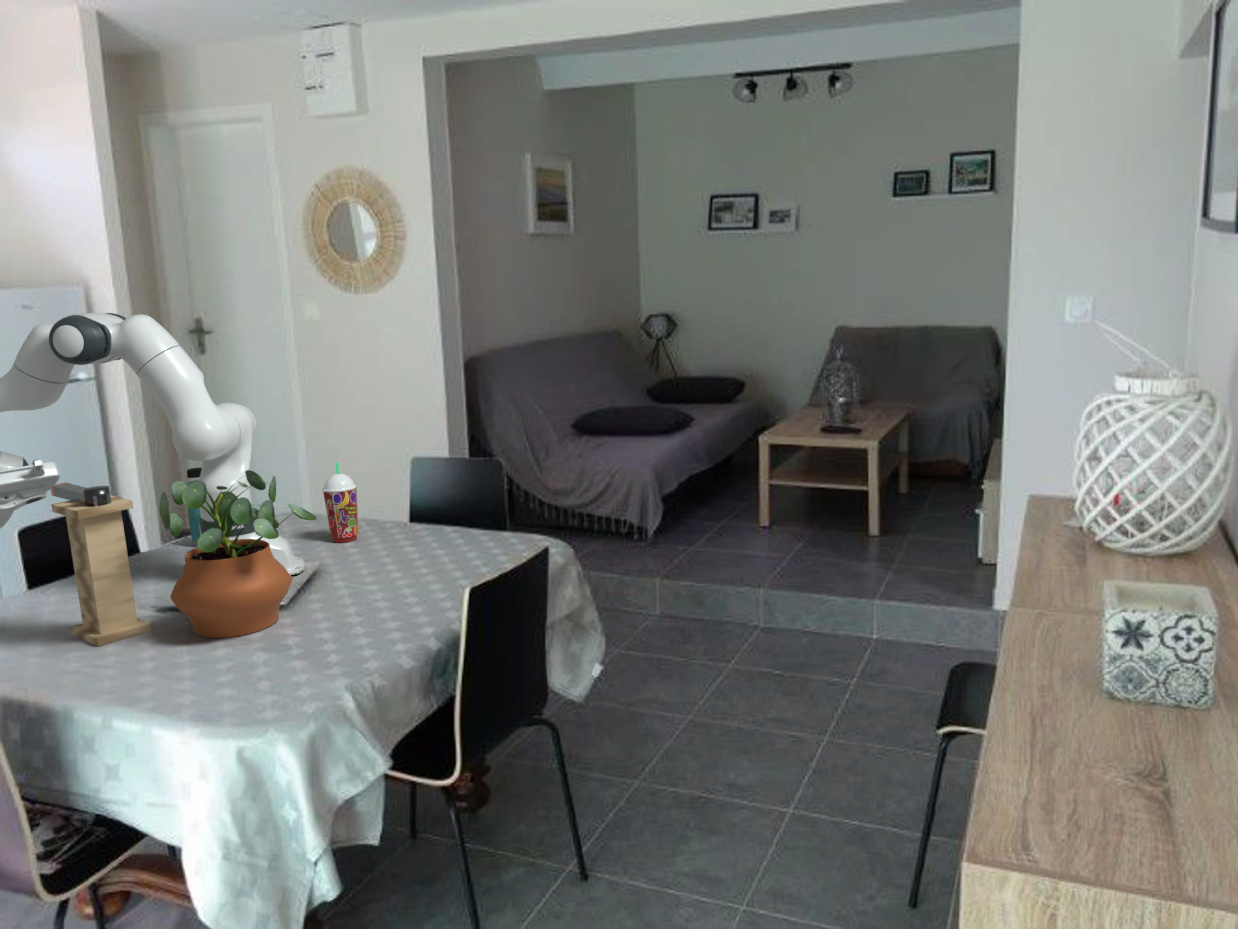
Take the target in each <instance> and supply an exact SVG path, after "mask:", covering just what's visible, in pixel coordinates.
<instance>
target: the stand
mask: <svg viewBox="0 0 1238 929" xmlns="http://www.w3.org/2000/svg"><path fill="white" fill-rule="evenodd" d="M110 496H111V504H107V505H102V506H96V507H87V506H85V504H82V503H78V502H75V501H71V500H65V501H61V502H56V503H51V510H52V511H51V512H52V513H55V514H58V515H62V516H65V521H66V525H67V532H68V539H69V545H70V546H69V547H70V550H71V552H70V553H71V557H72V563H73V564H72V565H73V570H74V571H73V572H74V576H75V582H76V590H77V594H78V602H79V607H80V614H81V621H82V623H80V624H77V625H74V626H70V629H71V634H72V635H73V636H76V637H78V638H79V639H81V640H83V641H86V642H87V643H89V644H92V645H94V646H96V647H98V648H99V647H101V646H105V645H108V644H111V643H115V642H118V641H122V640H124V639H128V638H129V639H130V638H132V637H135V636H138V635H143V634H145V633H149V632H152V626H151V623H150V622H148V621H146V620H143V619H140V618H138V616H137V615H138V614H137V610H136V602H135V601H136V600H135V597H134V588H133V582H132V575H131V568H130V563H129V562H130V561H129V556H128V555H129V554H128V549H127V548H128V547H127V541H126V534H125V529H124V528H125V527H124V521H123V515H122V511H126V510H131V509H134V504H133V500H132V499H128V498H124V497H120V496H116V495H112V494H110Z"/></svg>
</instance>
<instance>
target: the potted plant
mask: <svg viewBox="0 0 1238 929" xmlns="http://www.w3.org/2000/svg"><path fill="white" fill-rule="evenodd" d="M245 474H246V478H247V481H248V482H249V484H250V487H249V488H250V489H251V487H252V488H254V489H256V490H258V491H264V490H266V488H267V484H268V485H269V487H268V493H267V494H268V498H269V499H267V500H264V501H263V502H262V503H261V504H258V506H259V509H257V508H256V507H254V506H253V504H252V505H251V503H250V501H249V500H248V499H247V498H245V497H242V498H239V499H238V497H239V496H240V495H241V494H242V493H243V492H244V491H245V490H244V491H243V492H242V493H240V494H239V495H238V496H236V495H235V494H233V493H232V491H233V490H235V489H236V488H237V487H238V486H237V487H236V488H235V489H233V490H232V491H230V492H228V491H229V490H230V489H231V487H232V486H233V485H234V484H235V483H236V482H237V481H238V480H237V481H236V482H235V483H234V484H233V485H232V486H231V487H230V488H229V489H228V491H224V492H221V491H220V494H219V495H218V496H217V498H216V500H215V502H214V500H213V498H212V497H211V495H210V494H209V493H208V492H207V488H206V485H205V483H204V482H202V481H195V480H194V481H195V482H192V483H190V484H187V483H185V482H184V481H182V480H176V481H175V482H173V483H172V485H171V490H170V492H171V495H167V494H166V492H165V491H163V492H161V495H160V499H159V506H158V509H159V510H158V511H159V516H160V519H161V521H162V525H163V526H164V528H165V530H166V531H168V530H169V532H170V534H171V536H173V537H174V538H177V537H178V536H180V535H181V533H182V530H183V526H184V521H183V520H182V518H181V517H182V516H184V517H185V516H186V517H188V514H187V515H186V514H183V515H182V514H181V515H178V514H177V513H176V512H171V510H173V509H174V510H180V511H183V512H185V513H190V512H188V510H184V509H183V508H182V509H181V508H177V507H175V508H173V507H172V508H170V502H169V498H168V497H172V499H173V502H174V503H175V504H176V505H179V506H181V505H183V504H184V506H185V507H186V508H187V507H188V508H190V509H199V508H200V507H202V508H203V509H205V510H206V512H207V513H208V514H209V515H210V516H211V517H212V518H213V520H214V521H215V523H216V525H217V528H218V529H217V528H215V527H214V526H212V525H211V524H210V523H209V522H207V521H206V520H204V519H202V518H200V517H198V516H196V515H195V516H196V517H198V518H200V519H201V520H203V521H204V522H205V523H207V524H208V525H209V526H210V527H211V528H212V529H210V528H209V527H208V526H206V525H205V524H203V523H202V524H203V525H204V526H206V527H207V528H208V529H209V530H207V531H206V532H204V533H203V534H202V535H201V536H200V538H199V539H198V542H196V543H197V547H194V548H192V549H190V550H189V551H187V552H186V553H185V555H184V567H183V572H181V575H179V577H178V578H177V580H176V582H175V584H174V587H173V588H172V591H171V593H170V595H169V596H170V597H169V598H170V600H171V602H172V603H173V604H174V605H175V607H176V608H177V609H178V611H180V612H181V613H182V614H184V615H185V616H186V617H188V618H189V621H190V622H191V624H192V627H193V632H194V633H195V635H197V636H200V637H203V638H209V639H210V638H211V639H226V638H234V637H242V636H245V635H246V636H247V635H250V634H253V633H257V632H260V631H263V630H265V629H268V628H270V627H271V626H273V625H274V624H276V623H277V622H278V621H279V619H280V614H279V611H280V607H281V603H282V602H283V600H284V599H285V597H286V596H287V594H288V592H289V589H290V587H291V585H292V583H293V576H291V575H290V574H289V573H288V571H287V570H286V569H285V567H284V566H283V565H281V564H280V563H279V562H278V561H277V560H276V559H275V558H274V557H273V554H272V552H271V550H270V545H269V543H268V542H266V541H264V540H261V538H263V537H264V538H267V539H275V538H278V536H280V534H279V532H278V529H279V526H280V525H281V524H282V523H283V522H284V521H285V520H287V519H288V518H290V517H291V516H292V515H293V514H294V515H295V516H296V517H297V518H298V519H301V520H305V521H317V516H316V515H315V514H313V513H312V512H310V511H308V510H306V509H304V508H302V507H301V506H298V505H297V504H293V503H288V504H287V507H288V509H290V511H291V512H292V513H291V514H289V515H288V516H287V517H285V519H283V520H281V522H280V523H279V520H278V519H277V518H276V517H275V507H274V503H275V502H276V498H277V479H276V476H275V475H273V477H272V478H271V481H270V483H268V481H267V482H266V481H265V480H264V478H263V477H262V476H260V474H258V473H257V472H255V471H253V470H251V469H250V470H246V472H245ZM243 477H244V476H243ZM241 478H242V477H241ZM241 478H240V479H241ZM238 483H239V484H240V485H241V486H242V487H248V486H247V485H246V484H244V483H242V482H239V481H238ZM186 484H187V485H188V486H187V485H186ZM216 488H217V489H218V490H225V489H227V487H224V486H217V487H216ZM247 489H248V488H247ZM247 489H246V490H247ZM207 494H208V495H209V497H210V500H211V502H212V505H213V508H212V507H211V505H210V504H209V503H208V502H207V500H206V497H207ZM205 502H206V504H207V505H208V507H209V509H210V511H211V512H210V511H209V510H208V509H207V508H206V507H204V506H203V504H204V503H205ZM190 514H192V513H190ZM193 515H194V514H193ZM189 517H190V516H189ZM189 517H188V518H189ZM252 517H253V518H256V519H257V520H255V521H254V523H253V526H254V529H255V533H256V534H257V535H259V536H261V537H260V538H258V539H238V537H239V535H240V533H241V532H242V530H243V529H244V528H245V526H246V525H247V524H248V523H249V522H250V521H251V518H252ZM191 518H192V517H191ZM193 519H194V518H193ZM195 520H196V519H195ZM197 521H198V520H197ZM198 522H200V521H198ZM234 522H236V523H238V526H237V527H236V528H235V529H233V530H232V531H231V528H232V526H233V524H234ZM200 523H201V522H200ZM240 524H246V525H245V526H244V528H243V529H242V530H241V531H240V532H239V534H238V535H237V537H236V538H235V540H230V539H229V536H230V535H231V534H232V533H233V532H234V531H235V530H236V529H237V528H238V527H239V525H240ZM227 525H230V526H229V528H228V529H227ZM230 531H231V532H230Z"/></svg>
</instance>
